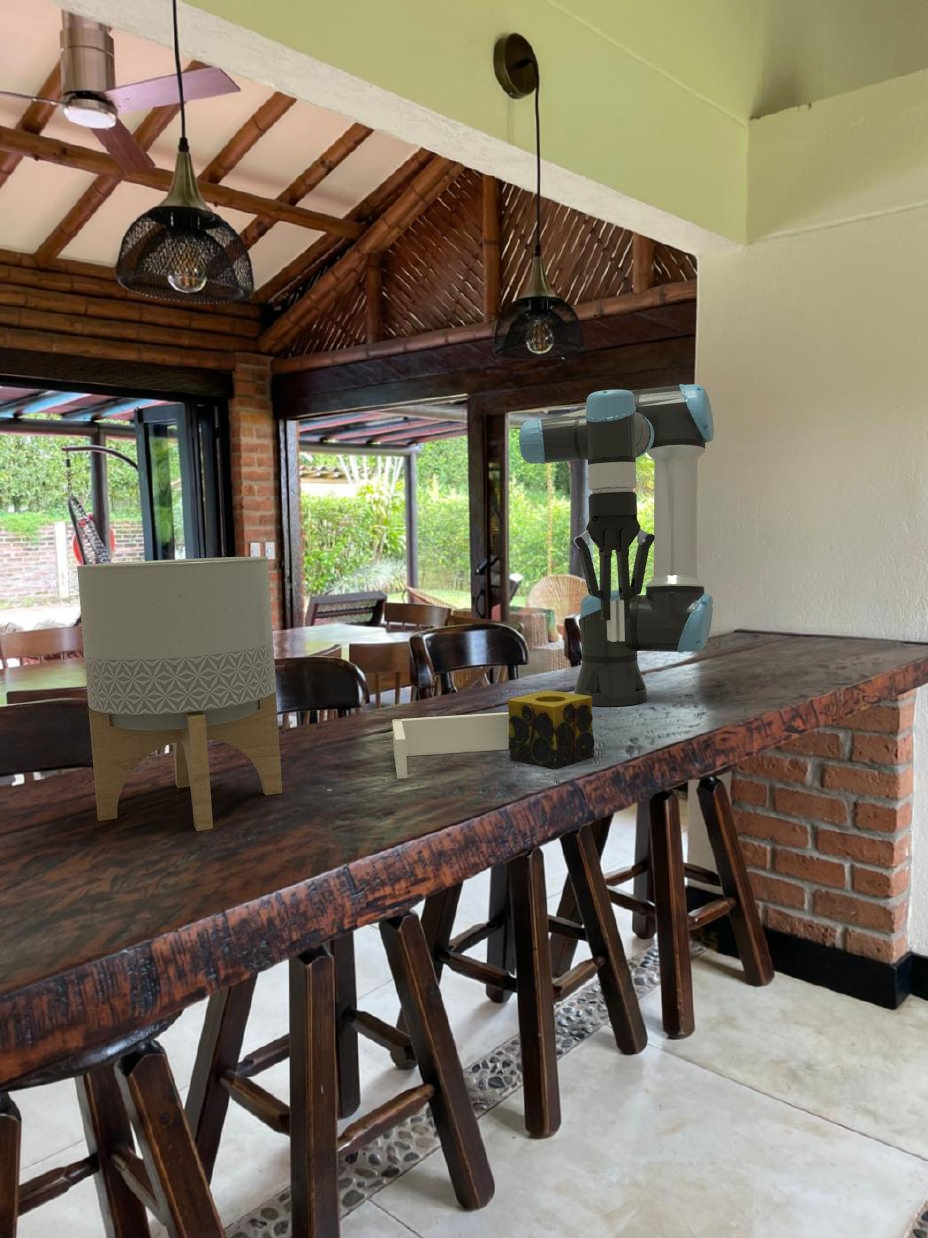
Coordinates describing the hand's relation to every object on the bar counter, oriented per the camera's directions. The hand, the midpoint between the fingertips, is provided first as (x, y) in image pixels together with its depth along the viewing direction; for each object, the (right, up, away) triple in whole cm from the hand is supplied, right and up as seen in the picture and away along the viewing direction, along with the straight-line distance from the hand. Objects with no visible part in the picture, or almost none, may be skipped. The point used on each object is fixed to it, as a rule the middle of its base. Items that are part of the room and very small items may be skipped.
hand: (616, 640), depth 144 cm
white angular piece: (-25, -20, 0) cm, 32 cm away
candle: (-10, -19, +1) cm, 22 cm away
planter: (-62, -23, -17) cm, 69 cm away
